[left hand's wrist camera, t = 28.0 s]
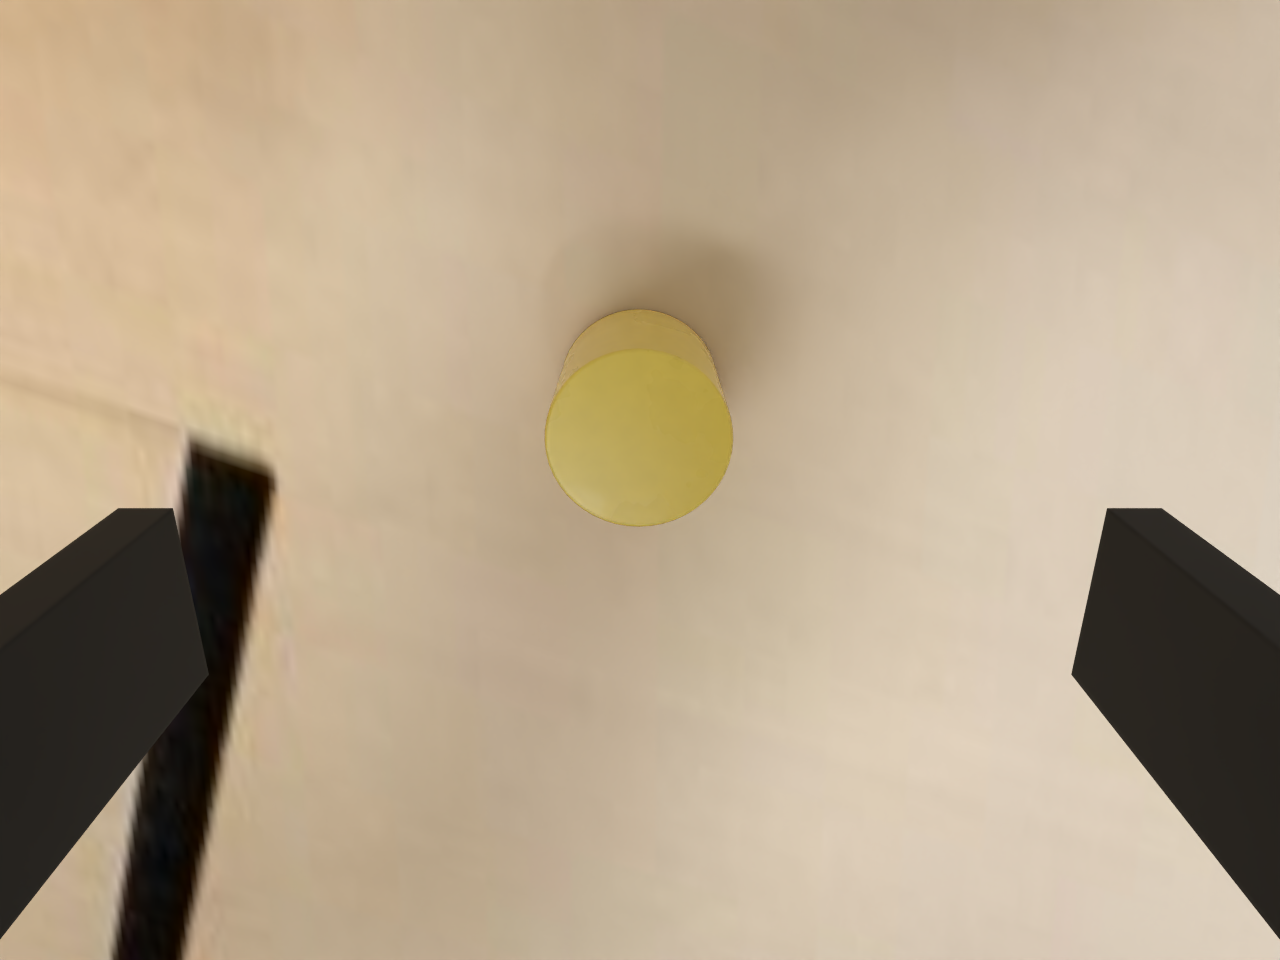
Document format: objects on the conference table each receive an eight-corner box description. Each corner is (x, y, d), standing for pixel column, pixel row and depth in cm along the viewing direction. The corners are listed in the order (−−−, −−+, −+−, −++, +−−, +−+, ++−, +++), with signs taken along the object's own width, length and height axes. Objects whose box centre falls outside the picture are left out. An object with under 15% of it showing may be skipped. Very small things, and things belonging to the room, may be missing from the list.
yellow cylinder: (748, 399, 24) (770, 457, 20) (625, 488, 25) (623, 560, 21) (653, 275, 23) (656, 308, 19) (528, 374, 24) (505, 426, 20)
